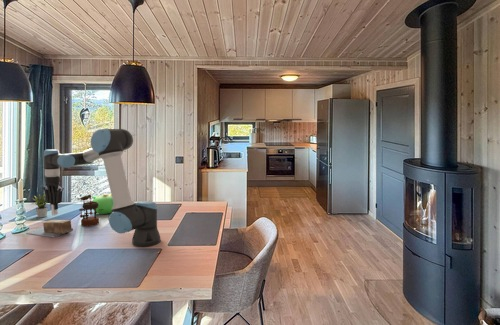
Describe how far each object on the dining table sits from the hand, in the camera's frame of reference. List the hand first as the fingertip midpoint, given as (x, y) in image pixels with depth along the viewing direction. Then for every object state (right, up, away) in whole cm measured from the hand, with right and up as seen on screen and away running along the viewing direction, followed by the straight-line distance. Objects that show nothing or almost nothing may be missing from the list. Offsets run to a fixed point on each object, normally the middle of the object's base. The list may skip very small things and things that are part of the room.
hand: (54, 214), depth 183 cm
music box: (+13, -9, +19) cm, 24 cm away
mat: (-3, -11, +2) cm, 11 cm away
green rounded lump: (+11, -6, +43) cm, 44 cm away
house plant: (-28, -7, +31) cm, 42 cm away
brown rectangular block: (+8, -7, -1) cm, 11 cm away
